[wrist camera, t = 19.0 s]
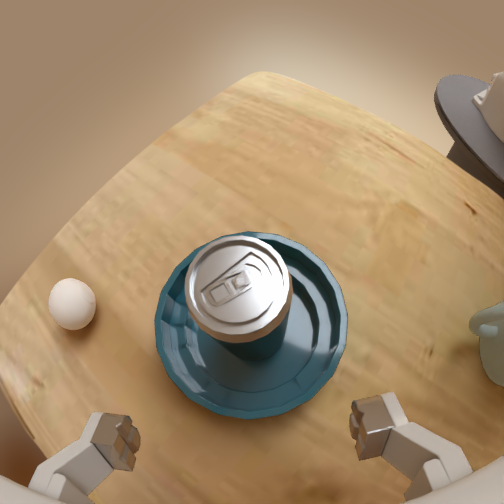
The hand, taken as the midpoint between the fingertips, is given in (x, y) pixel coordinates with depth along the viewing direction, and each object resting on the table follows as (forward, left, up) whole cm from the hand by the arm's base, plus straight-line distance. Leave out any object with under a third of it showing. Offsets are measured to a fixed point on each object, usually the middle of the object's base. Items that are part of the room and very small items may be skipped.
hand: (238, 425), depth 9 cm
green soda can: (-4, -5, -14) cm, 16 cm away
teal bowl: (-4, -5, -15) cm, 16 cm away
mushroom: (+7, -18, -15) cm, 24 cm away
